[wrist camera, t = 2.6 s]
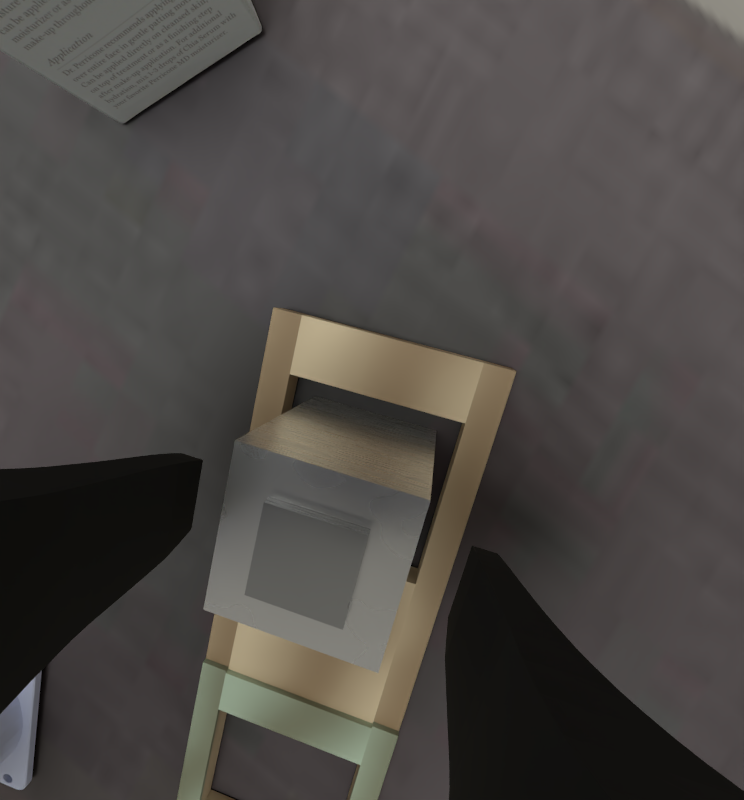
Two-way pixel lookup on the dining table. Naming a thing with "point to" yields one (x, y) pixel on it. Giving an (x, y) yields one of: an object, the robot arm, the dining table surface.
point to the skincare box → (123, 45)
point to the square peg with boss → (322, 527)
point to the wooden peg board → (391, 688)
